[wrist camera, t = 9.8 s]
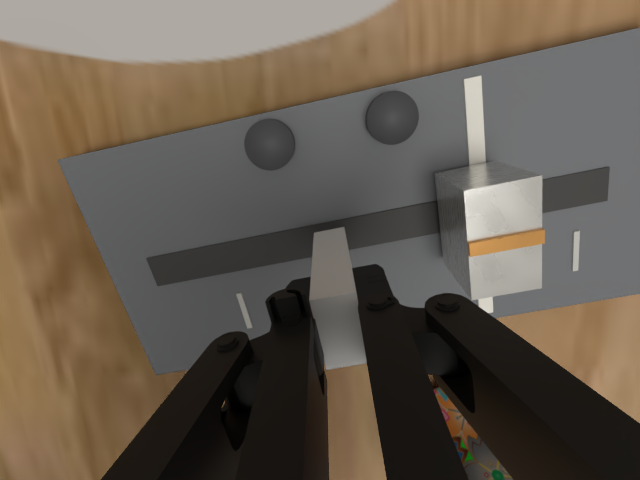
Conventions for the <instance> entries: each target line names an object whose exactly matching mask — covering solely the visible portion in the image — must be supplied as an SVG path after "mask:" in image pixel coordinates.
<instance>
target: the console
mask: <svg viewBox="0 0 640 480" xmlns="http://www.w3.org/2000/svg"><path fill="white" fill-rule="evenodd" d="M492 161H498V162H502V163H505V164H508V165H511V166H514V167H517V168H521V169H524V170H527V171H530V172H533V173H537V174H540V175H542V228H543V229H544V230H545V244H542V288H541V289H535V290H529V291H523V292H518V293H512V294H506V295H500V296H494V297H489V298H483V299H477V300H471V299H470V297H469V296H468V295H467V294H466V292H465V291H464V290H463V288H462V287H461V286H460V284H459V283H458V282H457V280H456V279H455V278H454V276H453V275H452V274H451V272H450V271H449V270H448V269H447V267H446V266H445V265H444V263H443V253H442V243H441V233H440V223H439V213H438V203H437V193H436V184H435V174H434V173H438V172H443V171H448V170H453V169H458V168H463V167H468V166H472V165H477V164H482V163H487V162H492ZM58 162H59V165H60V167H61V169H62V171H63V173H64V176H65V178H66V180H67V182H68V184H69V186H70V189H71V191H72V193H73V195H74V197H75V200H76V202H77V204H78V206H79V208H80V210H81V213H82V215H83V217H84V219H85V221H86V224H87V226H88V228H89V230H90V232H91V235H92V237H93V239H94V241H95V243H96V245H97V248H98V250H99V252H100V254H101V256H102V259H103V261H104V263H105V265H106V267H107V269H108V272H109V274H110V276H111V278H112V280H113V283H114V285H115V287H116V289H117V291H118V294H119V296H120V298H121V300H122V302H123V304H124V307H125V309H126V311H127V313H128V315H129V318H130V320H131V322H132V324H133V326H134V329H135V331H136V333H137V335H138V337H139V339H140V342H141V344H142V346H143V348H144V350H145V353H146V355H147V357H148V359H149V361H150V363H151V366H152V368H153V370H154V372H155V374H156V375H159V374H165V373H171V372H177V371H183V370H189V369H190V368H191V367H192V365H193V364H194V363H195V362H196V361H197V359H198V358H199V357H200V356H201V354H202V353H203V352H204V351H205V349H206V348H207V347H208V346H209V344H210V343H211V342H212V341H214V340H215V339H216V338H218V337H220V336H221V335H223V334H225V333H228V332H234V331H241V332H244V333H246V334H247V335H248V338H249V340H251V339H254V338H256V337H259V336H262V335H264V334H266V333H268V332H269V331H270V327H271V320H270V317H269V313H268V310H267V307H266V303H265V301H266V299H267V298H268V297H269V296H270V295H271V294H273V293H275V292H277V291H279V290H282V289H286V286H287V285H288V284H289V283H290V282H291V281H292V280H295V279H301V278H306V277H311V267H312V253H313V239H314V233H315V232H320V231H325V230H331V229H336V228H341V227H344V228H345V233H346V239H347V244H348V249H349V254H350V259H351V264H352V268H355V267H360V266H366V265H371V264H377V265H379V266H381V267H382V268H383V269H384V272H385V275H386V277H387V280H388V283H389V285H390V288H391V290H392V293H393V296H394V297H396V298H397V299H398V301H399V303H400V304H401V305H404V306H407V307H414V308H425V307H424V306H425V302H426V301H427V300H428V299H429V298H430V297H432V296H434V295H438V294H442V293H454V294H458V295H462V296H464V297H466V298H468V299H469V300H471V301H472V302H473V303H475V304H476V305H477V306H479V307H480V308H482V309H483V310H484V311H486V312H487V313H488V314H490V315H491V316H493V317H494V318H498V317H504V316H510V315H516V314H522V313H528V312H534V311H540V310H546V309H552V308H558V307H563V306H569V305H575V304H581V303H587V302H593V301H599V300H605V299H611V298H617V297H623V296H629V295H635V294H640V28H636V29H632V30H628V31H623V32H619V33H614V34H610V35H606V36H601V37H597V38H592V39H588V40H584V41H579V42H575V43H570V44H566V45H562V46H557V47H553V48H548V49H544V50H540V51H535V52H531V53H526V54H522V55H517V56H513V57H509V58H504V59H500V60H495V61H491V62H487V63H482V64H478V65H473V66H469V67H465V68H460V69H456V70H451V71H447V72H443V73H438V74H434V75H429V76H425V77H421V78H416V79H412V80H407V81H403V82H399V83H394V84H390V85H385V86H381V87H376V88H372V89H368V90H363V91H359V92H354V93H350V94H346V95H341V96H337V97H332V98H328V99H324V100H319V101H315V102H310V103H306V104H302V105H297V106H293V107H288V108H284V109H280V110H275V111H271V112H266V113H262V114H258V115H253V116H249V117H244V118H240V119H235V120H231V121H227V122H222V123H218V124H213V125H209V126H205V127H200V128H196V129H191V130H187V131H183V132H178V133H174V134H169V135H165V136H161V137H156V138H152V139H147V140H143V141H139V142H134V143H130V144H125V145H121V146H117V147H112V148H108V149H103V150H99V151H94V152H90V153H86V154H81V155H77V156H72V157H68V158H64V159H59V160H58Z"/></svg>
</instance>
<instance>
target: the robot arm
mask: <svg viewBox="0 0 640 480" xmlns="http://www.w3.org/2000/svg"><path fill="white" fill-rule="evenodd" d="M265 303H266V307H267V310H268V313H269V317H270V320H271V327H270V331H269V332H268V333H266V334H264V335H262V336H259V337H256V338H254V339H251V340H249V338H248V335H247V334H246V333H244V332H241V331H234V332H228V333H225V334H223V335H221V336H220V337H218V338H216V339H215V340H214V341H212V342H211V343H210V344H209V346H208V347H207V348H206V349H205V351H204V352H203V353H202V354H201V356H200V357H199V358H198V359H197V361H196V362H195V363H194V364H193V365H192V367H191V368H190V369H189V370H188V372H187V373H186V374H185V375H184V377H183V378H182V379H181V380H180V382H179V383H178V384H177V385H176V387H175V388H174V389H173V390H172V392H171V393H170V394H169V395H168V397H167V398H166V399H165V400H164V402H163V403H162V404H161V405H160V407H159V408H158V409H157V410H156V412H155V413H154V414H153V415H152V417H151V418H150V419H149V420H148V422H147V423H146V424H145V425H144V427H143V428H142V429H141V430H140V432H139V433H138V434H137V435H136V437H135V438H134V439H133V440H132V442H131V443H130V444H129V445H128V447H127V448H126V449H125V450H124V452H123V453H122V454H121V455H120V456H119V458H118V459H117V460H116V461H115V463H114V464H113V465H112V466H111V468H110V469H109V470H108V471H107V473H106V474H105V475H104V476H103V478H102V479H101V480H329V459H328V409H327V379H326V375H325V371H324V363H325V367H326V370H329V369H335V368H341V367H347V366H353V365H359V364H365V363H367V366H368V371H369V377H370V383H371V389H372V395H373V401H374V407H375V412H376V418H377V424H378V430H379V436H380V442H381V448H382V453H383V459H384V465H385V471H386V477H387V480H469V479H468V477H467V474H466V472H465V469H464V467H463V464H462V462H461V459H460V456H459V454H458V451H457V449H456V446H455V444H454V441H453V439H452V436H451V433H450V431H449V428H448V426H447V423H446V421H445V418H444V415H443V413H442V410H441V408H440V405H439V403H438V400H437V398H436V395H435V392H434V390H433V387H432V385H431V382H430V380H429V377H428V375H427V374H431V375H433V377H434V379H435V382H436V383H437V384H438V385H439V387H440V388H441V389H442V390H443V392H444V393H445V394H446V396H447V397H448V398H449V399H450V401H451V402H452V403H453V404H454V406H455V407H456V408H457V409H458V411H459V412H460V413H461V414H462V416H463V417H464V418H465V419H466V421H467V422H468V423H469V424H470V426H471V427H472V428H473V429H474V431H475V432H476V433H477V434H478V436H479V437H480V438H481V440H482V441H483V442H484V443H485V445H486V446H487V447H488V448H489V450H490V451H491V452H492V453H493V455H494V456H495V457H496V458H497V460H498V461H499V462H500V463H501V465H502V466H503V467H504V468H505V470H506V471H507V472H508V473H509V475H510V476H511V477H512V478H513V480H640V423H638V422H637V421H635V420H634V419H633V418H631V417H630V416H629V415H627V414H626V413H624V412H623V411H622V410H620V409H619V408H618V407H616V406H615V405H613V404H612V403H611V402H609V401H608V400H607V399H605V398H604V397H602V396H601V395H600V394H598V393H597V392H596V391H594V390H593V389H591V388H590V387H589V386H587V385H586V384H585V383H583V382H582V381H580V380H579V379H578V378H576V377H575V376H574V375H572V374H571V373H569V372H568V371H567V370H565V369H564V368H563V367H561V366H560V365H558V364H557V363H556V362H554V361H553V360H552V359H550V358H549V357H547V356H546V355H545V354H543V353H542V352H541V351H539V350H538V349H537V348H535V347H534V346H532V345H531V344H530V343H528V342H527V341H526V340H524V339H523V338H521V337H520V336H519V335H517V334H516V333H515V332H513V331H512V330H510V329H509V328H508V327H506V326H505V325H504V324H502V323H501V322H499V321H498V320H497V319H495V318H494V317H493V316H491V315H490V314H488V313H487V312H486V311H484V310H483V309H482V308H480V307H479V306H477V305H476V304H475V303H473V302H472V301H471V300H469V299H468V298H466V297H464V296H462V295H458V294H454V293H442V294H438V295H434V296H432V297H430V298H429V299H428V300H427V301H426V302H425V306H424V307H425V308H414V307H407V306H404V305H401V304H400V303H399V301H398V299H397V298H396V297H394V296H393V293H392V290H391V288H390V285H389V283H388V280H387V277H386V275H385V272H384V269H383V268H382V267H381V266H379V265H377V264H371V265H366V266H360V267H355V268H352V264H351V259H350V254H349V249H348V244H347V239H346V233H345V228H344V227H341V228H336V229H331V230H325V231H320V232H315V233H314V239H313V253H312V267H311V277H306V278H301V279H295V280H292V281H291V282H290V283H289V284H288V285H287V286H286V289H282V290H279V291H277V292H275V293H273V294H271V295H270V296H269V297H268V298H267V299H266V301H265ZM224 400H225V404H224V406H223V408H222V405H223V402H224ZM221 408H222V409H221Z"/></svg>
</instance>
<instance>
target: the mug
mask: <svg viewBox="0 0 640 480" xmlns="http://www.w3.org/2000/svg"><path fill="white" fill-rule="evenodd" d="M434 392H435V395H436V398H437V400H438V403H439V405H440V408H441V410H442V413H443V415H444V418H445V421H446V423H447V426H448V428H449V431H450V433H451V436H452V439H453V441H454V444H455V446H456V449H457V451H458V454H459V456H460V459H461V462H462V464H463V467H464V469H465V472H466V474H467V477H468V479H469V480H513V478H512V477H511V476H510V475H509V473H508V472H507V471H506V470H505V468H504V467H503V466H502V465H501V463H500V462H499V461H498V460H497V458H496V457H495V456H494V455H493V453H492V452H491V451H490V450H489V448H488V447H487V446H486V445H485V443H484V442H483V441H482V440H481V438H480V437H479V436H478V434H477V433H476V432H475V431H474V429H473V428H472V427H471V426H470V424H469V423H468V422H467V421H466V419H465V418H464V417H463V416H462V414H461V413H460V412H459V411H458V409H457V408H456V407H455V406H454V404H453V403H452V402H451V401H450V399H449V398H448V397H447V396H446V394H445V393H444V392H443V390H442V389H441V388H440V387H438V388H436V389H434Z"/></svg>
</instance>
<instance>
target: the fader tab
mask: <svg viewBox="0 0 640 480" xmlns="http://www.w3.org/2000/svg"><path fill="white" fill-rule="evenodd" d="M434 174H435V184H436V193H437V203H438V213H439V223H440V233H441V243H442V253H443V263H444V265H445V266H446V267H447V269H448V270H449V271H450V272H451V274H452V275H453V276H454V278H455V279H456V280H457V282H458V283H459V284H460V286H461V287H462V288H463V290H464V291H465V292H466V294H467V295H468V296H469V297H470V299H471V300H477V299H483V298H489V297H494V296H500V295H506V294H512V293H518V292H523V291H529V290H535V289H541V288H542V244H545V230H544V229H543V228H542V175H540V174H537V173H533V172H530V171H527V170H524V169H521V168H517V167H514V166H511V165H508V164H505V163H502V162H498V161H492V162H487V163H482V164H477V165H472V166H468V167H463V168H458V169H453V170H448V171H443V172H438V173H434Z"/></svg>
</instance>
